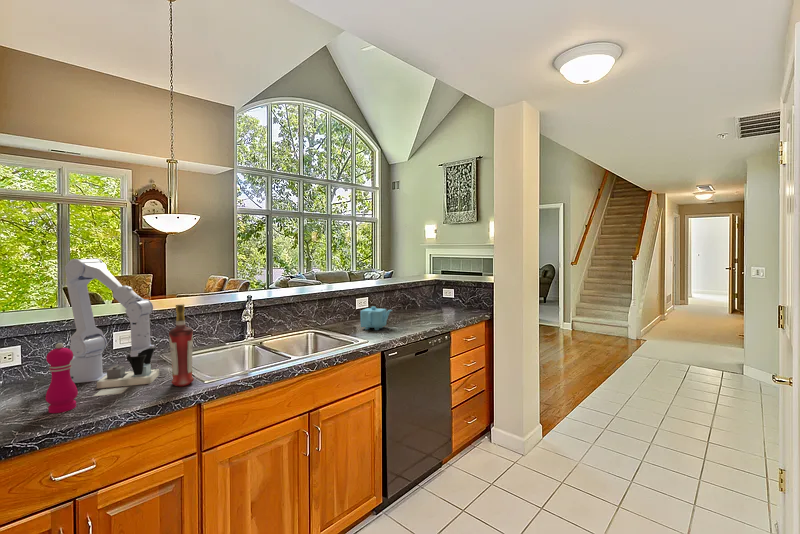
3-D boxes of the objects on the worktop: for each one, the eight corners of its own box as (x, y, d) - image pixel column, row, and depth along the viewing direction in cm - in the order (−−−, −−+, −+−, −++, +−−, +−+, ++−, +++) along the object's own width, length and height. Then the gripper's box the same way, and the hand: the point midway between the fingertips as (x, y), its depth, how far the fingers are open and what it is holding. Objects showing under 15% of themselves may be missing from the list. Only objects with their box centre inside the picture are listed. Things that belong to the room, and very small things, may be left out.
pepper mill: (59, 405, 119) (55, 340, 118) (84, 404, 119) (81, 339, 119) (39, 415, 112) (35, 346, 111) (66, 414, 112) (62, 345, 111)
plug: (134, 381, 138) (133, 366, 138) (138, 378, 142) (138, 363, 142) (146, 380, 139) (146, 365, 139) (151, 377, 143) (150, 362, 143)
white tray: (96, 389, 132) (96, 371, 132) (109, 379, 142) (108, 363, 142) (150, 384, 137) (150, 367, 137) (159, 375, 147) (158, 359, 146)
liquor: (170, 383, 137) (167, 304, 136) (193, 379, 141) (190, 302, 140) (171, 389, 131) (168, 307, 130) (195, 385, 135) (193, 305, 134)
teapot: (358, 330, 223) (358, 308, 223) (368, 325, 238) (368, 304, 238) (388, 332, 218) (388, 309, 218) (397, 326, 233) (396, 305, 232)
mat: (92, 397, 125) (92, 396, 125) (101, 390, 131) (101, 389, 131) (121, 394, 128) (121, 393, 128) (128, 387, 133) (128, 387, 133)
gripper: (146, 337, 134) (148, 376, 135) (159, 329, 148) (160, 364, 149) (122, 339, 132) (124, 378, 133) (138, 330, 146) (139, 366, 147)
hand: (142, 371), depth 140 cm, fingers open, 7 cm apart
